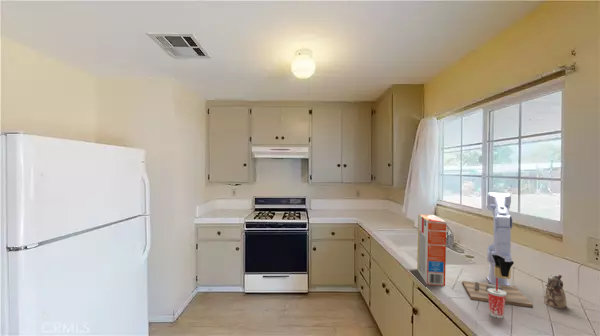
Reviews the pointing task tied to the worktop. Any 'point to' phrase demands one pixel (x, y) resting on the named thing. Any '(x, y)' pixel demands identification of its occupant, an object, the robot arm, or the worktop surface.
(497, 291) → the beverage cup
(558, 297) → the figurine
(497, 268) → the brass gear
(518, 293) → the carrier plate
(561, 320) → the worktop surface
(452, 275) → the worktop surface
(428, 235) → the orange cereal box
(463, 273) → the worktop surface
